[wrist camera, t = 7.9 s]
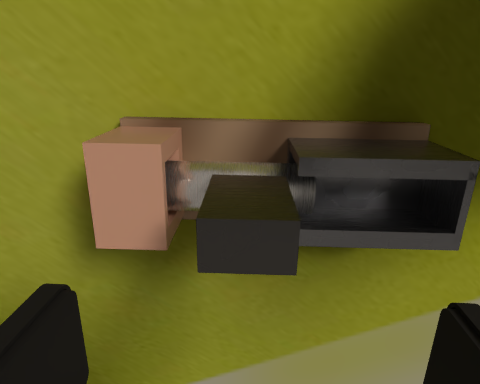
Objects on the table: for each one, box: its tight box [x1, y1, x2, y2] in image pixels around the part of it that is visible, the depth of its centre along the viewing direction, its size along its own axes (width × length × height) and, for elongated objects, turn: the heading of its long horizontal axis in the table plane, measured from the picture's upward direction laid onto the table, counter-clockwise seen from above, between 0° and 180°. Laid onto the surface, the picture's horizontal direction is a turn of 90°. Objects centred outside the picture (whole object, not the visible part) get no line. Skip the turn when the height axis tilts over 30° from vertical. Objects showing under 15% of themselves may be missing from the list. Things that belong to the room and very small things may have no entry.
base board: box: [120, 117, 431, 219], centre depth 24 cm, size 20×7×1 cm, turn 89°
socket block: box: [82, 126, 185, 250], centre depth 21 cm, size 4×6×6 cm, turn 179°
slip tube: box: [165, 160, 316, 275], centre depth 18 cm, size 11×3×9 cm, turn 89°
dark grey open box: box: [287, 137, 480, 250], centre depth 21 cm, size 9×5×6 cm, turn 89°
